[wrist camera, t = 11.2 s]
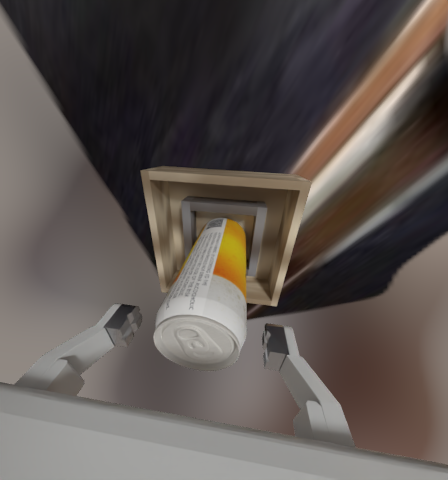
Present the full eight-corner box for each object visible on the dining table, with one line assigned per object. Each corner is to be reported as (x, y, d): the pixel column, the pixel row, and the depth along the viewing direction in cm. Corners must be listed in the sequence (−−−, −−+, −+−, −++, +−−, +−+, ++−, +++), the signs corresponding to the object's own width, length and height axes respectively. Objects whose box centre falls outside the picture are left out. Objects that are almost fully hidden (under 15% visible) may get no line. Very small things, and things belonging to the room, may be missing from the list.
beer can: (213, 259, 25) (178, 377, 12) (194, 224, 23) (126, 324, 10) (251, 248, 24) (260, 370, 11) (236, 208, 21) (222, 303, 8)
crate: (162, 166, 21) (140, 170, 16) (296, 174, 19) (311, 181, 15) (174, 270, 28) (161, 292, 24) (271, 280, 27) (276, 306, 23)
